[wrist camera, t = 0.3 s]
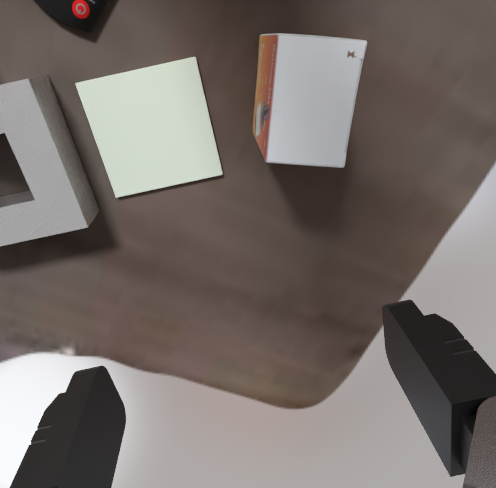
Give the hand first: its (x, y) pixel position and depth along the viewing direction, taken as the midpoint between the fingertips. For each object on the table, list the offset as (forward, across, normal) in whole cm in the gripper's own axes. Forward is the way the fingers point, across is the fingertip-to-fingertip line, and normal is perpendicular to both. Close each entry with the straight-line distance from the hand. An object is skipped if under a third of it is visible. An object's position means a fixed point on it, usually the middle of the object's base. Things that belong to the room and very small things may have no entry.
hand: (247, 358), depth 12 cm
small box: (+28, -6, -3) cm, 29 cm away
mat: (+28, +6, -2) cm, 29 cm away
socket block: (+28, +19, -3) cm, 34 cm away
